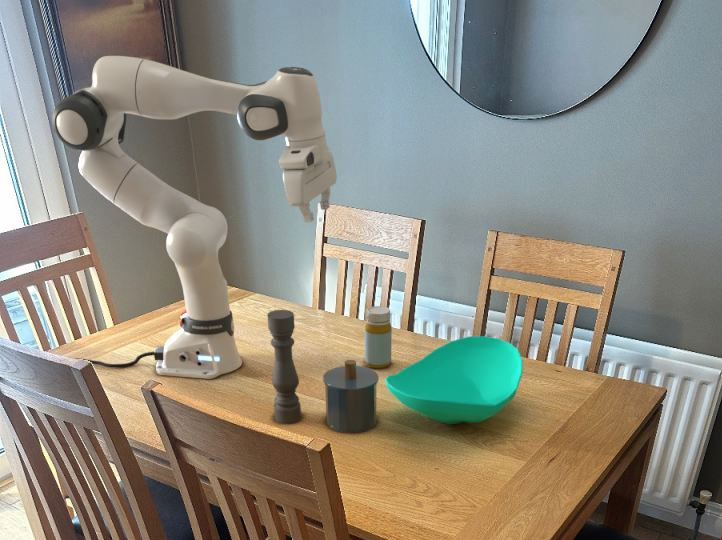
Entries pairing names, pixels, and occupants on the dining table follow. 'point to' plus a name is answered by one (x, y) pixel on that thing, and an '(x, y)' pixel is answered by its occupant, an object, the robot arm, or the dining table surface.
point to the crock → (351, 409)
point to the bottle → (378, 337)
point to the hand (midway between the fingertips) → (317, 215)
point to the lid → (350, 377)
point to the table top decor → (461, 380)
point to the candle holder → (284, 367)
